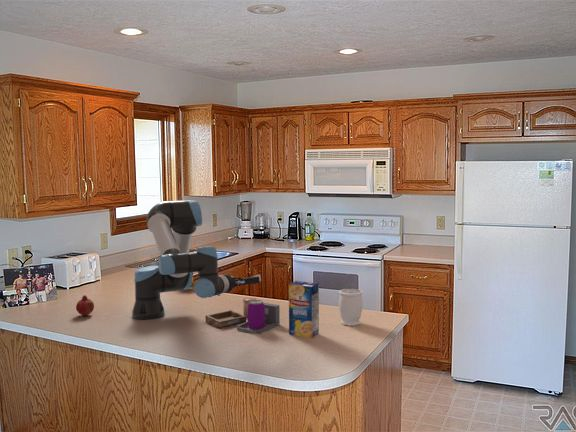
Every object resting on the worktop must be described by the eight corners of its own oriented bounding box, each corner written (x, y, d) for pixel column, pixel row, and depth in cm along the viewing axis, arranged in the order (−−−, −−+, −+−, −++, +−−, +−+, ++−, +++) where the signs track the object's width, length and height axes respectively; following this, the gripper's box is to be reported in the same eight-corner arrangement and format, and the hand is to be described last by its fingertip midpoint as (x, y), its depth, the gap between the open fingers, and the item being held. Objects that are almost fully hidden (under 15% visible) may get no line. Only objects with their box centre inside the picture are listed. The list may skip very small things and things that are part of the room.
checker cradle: (235, 329, 236) (235, 310, 236) (257, 320, 250) (256, 301, 249) (258, 334, 230) (258, 314, 229) (279, 324, 244) (279, 305, 243)
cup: (240, 315, 258) (240, 299, 257) (251, 313, 262) (251, 296, 261) (248, 318, 253) (247, 301, 252) (259, 316, 257) (258, 299, 256)
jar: (364, 321, 248) (364, 289, 246) (359, 327, 238) (360, 294, 236) (341, 319, 251) (341, 287, 250) (336, 325, 241) (336, 293, 240)
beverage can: (264, 330, 235) (264, 303, 234) (246, 330, 235) (246, 304, 234) (265, 325, 243) (265, 299, 242) (248, 325, 243) (248, 299, 242)
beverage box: (311, 338, 225) (311, 286, 222) (288, 334, 230) (288, 284, 228) (319, 333, 230) (318, 283, 228) (296, 330, 236) (296, 280, 233)
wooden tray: (205, 321, 249) (205, 315, 248) (231, 316, 257) (231, 310, 257) (220, 328, 238) (220, 322, 238) (246, 322, 247) (246, 316, 247)
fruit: (97, 315, 261) (96, 295, 260) (81, 319, 255) (80, 298, 254) (89, 312, 266) (88, 292, 265) (73, 315, 261) (72, 295, 259)
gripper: (195, 293, 220) (221, 287, 240) (250, 292, 211) (272, 286, 230) (194, 275, 220) (220, 270, 240) (248, 273, 211) (271, 268, 230)
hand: (246, 278), depth 235 cm, fingers open, 13 cm apart
